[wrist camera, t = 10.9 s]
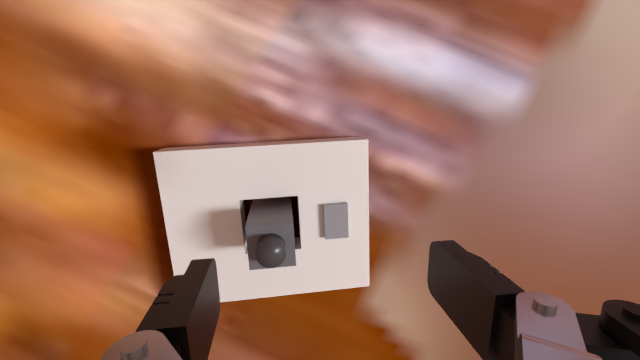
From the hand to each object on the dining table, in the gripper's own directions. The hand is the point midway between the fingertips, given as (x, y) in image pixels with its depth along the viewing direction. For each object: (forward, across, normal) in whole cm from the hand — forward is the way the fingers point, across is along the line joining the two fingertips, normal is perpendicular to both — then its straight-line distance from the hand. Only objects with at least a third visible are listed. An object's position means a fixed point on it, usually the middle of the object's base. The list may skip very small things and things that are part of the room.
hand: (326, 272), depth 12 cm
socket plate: (+23, +3, +6) cm, 24 cm away
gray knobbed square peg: (+23, +2, +6) cm, 24 cm away
